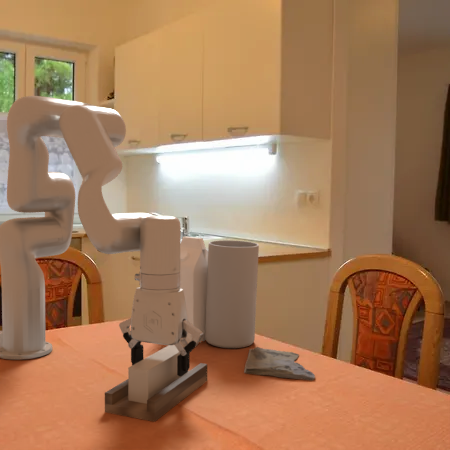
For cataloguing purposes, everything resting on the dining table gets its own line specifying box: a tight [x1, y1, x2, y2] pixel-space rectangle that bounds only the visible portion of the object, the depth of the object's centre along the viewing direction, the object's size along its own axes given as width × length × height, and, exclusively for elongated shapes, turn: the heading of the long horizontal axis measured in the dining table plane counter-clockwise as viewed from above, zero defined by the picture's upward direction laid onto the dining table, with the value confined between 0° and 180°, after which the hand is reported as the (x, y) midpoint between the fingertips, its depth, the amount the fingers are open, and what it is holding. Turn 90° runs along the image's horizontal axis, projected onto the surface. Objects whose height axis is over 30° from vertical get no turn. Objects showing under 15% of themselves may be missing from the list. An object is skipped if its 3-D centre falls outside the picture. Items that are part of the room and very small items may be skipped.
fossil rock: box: [243, 346, 316, 381], centre depth 130 cm, size 18×15×2 cm
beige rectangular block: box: [127, 345, 181, 404], centre depth 111 cm, size 4×16×6 cm, turn 158°
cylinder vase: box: [205, 239, 260, 349], centre depth 147 cm, size 12×12×25 cm
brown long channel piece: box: [104, 362, 208, 422], centre depth 111 cm, size 10×22×4 cm, turn 158°
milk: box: [180, 236, 208, 343], centre depth 153 cm, size 12×12×26 cm
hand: (159, 370), depth 111 cm, fingers open, 9 cm apart
